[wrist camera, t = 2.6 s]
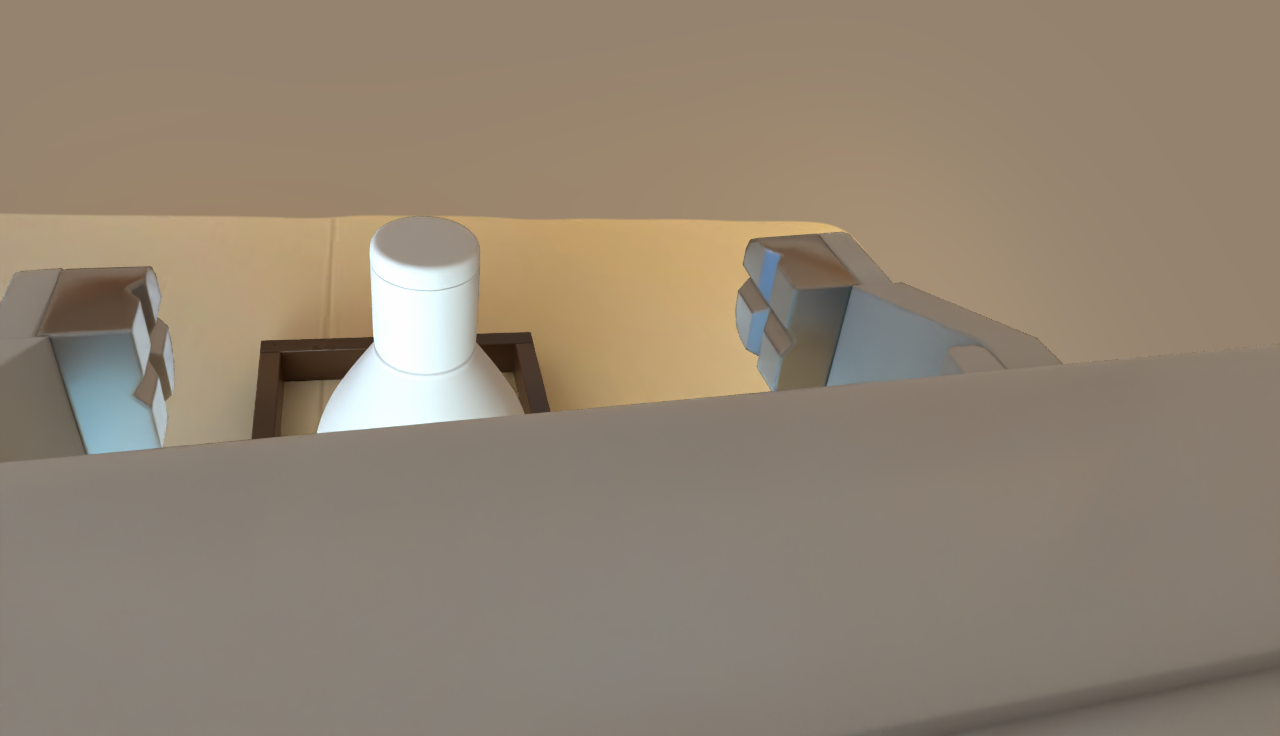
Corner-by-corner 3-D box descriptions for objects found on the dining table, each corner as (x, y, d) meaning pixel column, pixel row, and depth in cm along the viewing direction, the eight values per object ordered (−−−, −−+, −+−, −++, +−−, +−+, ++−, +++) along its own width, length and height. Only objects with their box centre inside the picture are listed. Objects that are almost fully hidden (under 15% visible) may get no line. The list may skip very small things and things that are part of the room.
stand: (569, 531, 45) (573, 501, 44) (247, 559, 42) (242, 527, 40) (528, 360, 55) (530, 331, 54) (264, 370, 51) (260, 340, 50)
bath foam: (539, 638, 41) (589, 217, 28) (470, 787, 35) (494, 345, 23) (387, 587, 42) (373, 158, 29) (297, 724, 36) (232, 268, 24)
